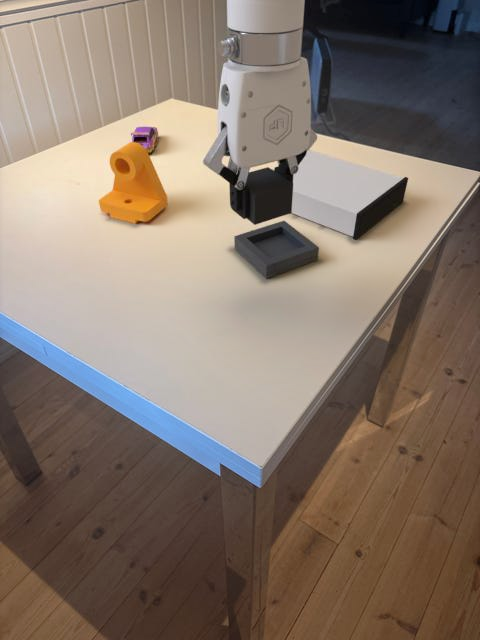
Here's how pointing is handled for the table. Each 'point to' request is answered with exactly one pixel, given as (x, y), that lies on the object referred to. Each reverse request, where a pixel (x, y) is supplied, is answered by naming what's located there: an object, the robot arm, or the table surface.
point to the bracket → (133, 186)
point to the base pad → (276, 249)
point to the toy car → (146, 137)
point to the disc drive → (344, 193)
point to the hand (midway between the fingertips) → (261, 206)
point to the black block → (268, 195)
